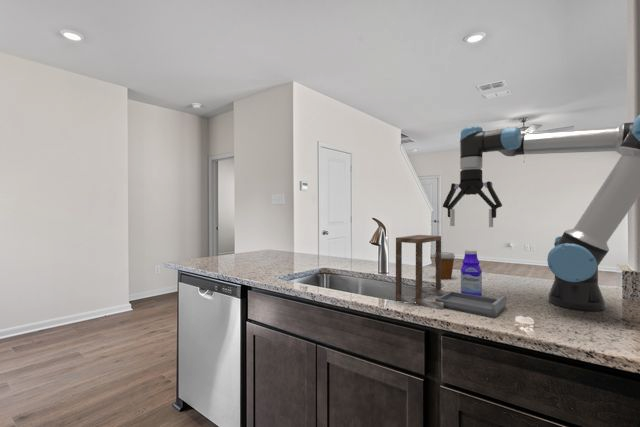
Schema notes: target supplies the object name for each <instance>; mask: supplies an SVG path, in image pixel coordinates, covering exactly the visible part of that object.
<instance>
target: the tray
mask: <svg viewBox="0 0 640 427" xmlns="http://www.w3.org/2000/svg"><path fill="white" fill-rule="evenodd" d="M449 291H450V292H448V293H447V294H445V295H443V296H439V297H437V298H435V301H437V302H442V303H444V309H447V310H453V311H455V312H456V311H457V312H461V313H462V312H463V313H466V314H467V313H468V314H473V315H477V316H482V317H487V318H491V319H496V318H497V317H498V316H499V315H500V314H502V312H503V311H504V310H506V309H507V295H501V296H500V297H498V298H494V297H489V296H488V297H487V296H484V295H483V296H482V295H481V296H477V295H470V294H464V293H461V292H457V291H451V290H449Z"/></svg>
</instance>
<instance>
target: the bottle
mask: <svg viewBox="0 0 640 427" xmlns="http://www.w3.org/2000/svg"><path fill="white" fill-rule="evenodd" d="M482 275H483V274H482V269H481V267H480V260H479V258H478V250H476V249H465V250H464V258H463V260H462V264H461V268H460V293H464V294H470V295H477V296H482V295H483V293H482V292H483V288H482V287H483V286H482V285H483V284H482V283H483V281H482V280H483V276H482Z"/></svg>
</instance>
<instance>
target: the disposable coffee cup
mask: <svg viewBox="0 0 640 427" xmlns="http://www.w3.org/2000/svg"><path fill="white" fill-rule="evenodd" d="M433 257H434V262H435V265H436V251H435V252H434V255H433ZM455 257H456V256H455V253H453V252H446V251H445V252H444V251H441V280H443V279H449V280H452V275H453V267H454V260H455Z"/></svg>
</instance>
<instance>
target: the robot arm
mask: <svg viewBox="0 0 640 427" xmlns="http://www.w3.org/2000/svg"><path fill="white" fill-rule="evenodd" d="M459 144H460V147H459V148H460V151H459V152H460V159H459V160H460V161H459V164H460V165H459V166H460V167H459V168H460V171H459V173H460V174H459V177H460V178H459V183H451V186H450V190H449V192H448V193H447V196H446V198H445V200H444V202H443V203H442V208H444V209H447V218H450V220H449V227H455V225H456V224H455V218H456V216H455V214H456V213H455V212H456V211H455V208H454V207H455V206H456V205H457V203H459V201H461V199H462V198H463V197H464V196H465V195H466V196H467V195H479V196H480V198H481V199H482V200H484V202H485V203H486V204H487V205H488V206H489V207H490V208H489V209H488V228H493V227H494V219H495V218H497V210H498V208H501V207H503V204H502V202H501V200H500V198H499V197H498V194H497V193H496V192H495V189H494V188H493V183H492V182H491V181H486V182H483V153H490V152H498V153H501V154H502V155H503V156H505V157H515V156H516V157H517V156H521V155H522V156H523V155H524V156H525V155H545V154H547V155H548V154H568V153H569V154H570V153H573V154H576V153H596V152H597V153H598V152H599V153H600V152H616V153H617V154H619V155H620V157H619V159H618V160H617V162H616V163H615V164H614V166H613V168H612V170H610V173H609V174H608V175H607V177H606V179H605V180H604V182H603V183H602V185H601V186H600V188H599V189H598V191H597V192H596V193H595V195H594V196H593V199H592V200H591V202H590V203H589V204H588V206H587V207H586V209H585V211H584V213H582V215H581V217H579V220H578V222H576V224H575V225H574V227H573V228H571V229H570V228H569V229H567V230H565V231H564V232H563V234H561V236H557V237H555V239H554V243H553V245H554V247H552V248H551V250H550V251H549V252H548V254H547V260H546V261H547V265H548V266H547V267H548V268H549V270H550V272H551V273H552V274H553V275H554V281H553V284H552V286H551V288H550V291H549V293H548V302H549V303H550V304H553V305H556V306H558V307H562V308H567V309H571V310H578V311H593V312H594V311H595V312H597V311H598V312H599V311H600V312H601V311H604V310H605V309H606V302H605V299H604V296H603V294H602V292H601V289H600V285H599V265H600V264H601V262H602V261H603V260H604V258H605V257H606V256H607V254H608V252H610V249H609V246H608V241H609V239H610V238H611V237H612V235H613V234H614V233H615V231H616V230H617V228H618V227H619V225H621V223H622V222H623V220H624V219H625V217H626V216H627V214H628V213H629V212H630V210H631V208H632V207H633V206H634V204H635V203H636V201H637V200H638V199H639V197H640V114H639V115H637V117H636V118H635V120H634V121H633V122H632V121H631V122H622V123H621V124H620V125H619V126H612V127H600V128H587V129H585V128H584V129H573V130H561V131H558V130H557V131H548V132H534V133H524V134H523V133H522V132H521V129H520V128H519V127H518V126H513V127H512V126H511V127H509V126H508V127H505V128H498V129H493V130H483V128H482V127H481V126H467V127H465V128H463V129H461V131H460V140H459ZM484 187H485V188H486V189H487V190H488V192H489V194H490V196H491V198H492V200H493V201H494V202H493V201H492V200H491V199H490V198H489V197H488V195H486V194H485V191H483V190H482V189H483V188H484ZM458 188H459V189H460V191H459V192H458V194H457V195H456V196H455V197H454V195H455V194H456V190H458ZM453 197H454V198H453Z"/></svg>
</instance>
